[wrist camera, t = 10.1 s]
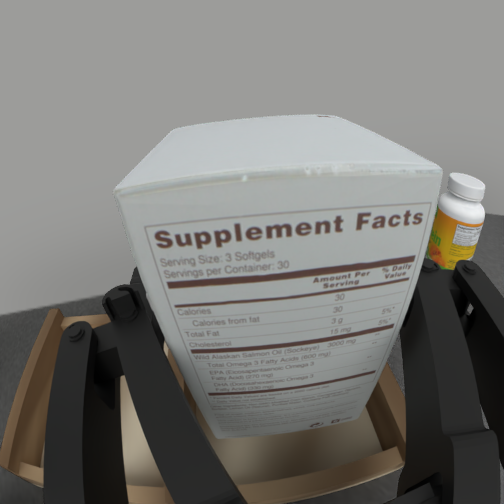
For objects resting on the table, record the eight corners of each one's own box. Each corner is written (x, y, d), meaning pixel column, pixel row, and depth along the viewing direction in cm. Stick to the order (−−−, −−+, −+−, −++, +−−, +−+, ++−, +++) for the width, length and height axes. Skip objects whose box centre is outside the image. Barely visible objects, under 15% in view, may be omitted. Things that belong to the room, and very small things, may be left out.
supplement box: (214, 335, 18) (171, 126, 11) (329, 322, 18) (344, 112, 11) (212, 443, 12) (99, 186, 5) (361, 423, 12) (453, 160, 5)
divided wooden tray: (36, 486, 10) (-3, 464, 8) (70, 341, 22) (50, 309, 19) (399, 469, 12) (427, 447, 9) (332, 311, 23) (338, 273, 21)
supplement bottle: (420, 247, 30) (436, 166, 24) (459, 252, 28) (479, 175, 23) (429, 276, 25) (452, 185, 20) (472, 281, 24) (500, 195, 19)
